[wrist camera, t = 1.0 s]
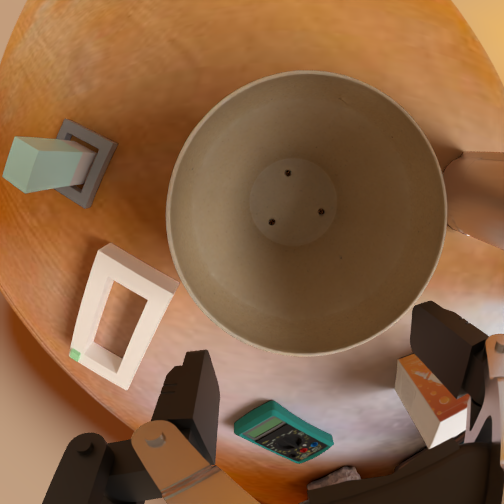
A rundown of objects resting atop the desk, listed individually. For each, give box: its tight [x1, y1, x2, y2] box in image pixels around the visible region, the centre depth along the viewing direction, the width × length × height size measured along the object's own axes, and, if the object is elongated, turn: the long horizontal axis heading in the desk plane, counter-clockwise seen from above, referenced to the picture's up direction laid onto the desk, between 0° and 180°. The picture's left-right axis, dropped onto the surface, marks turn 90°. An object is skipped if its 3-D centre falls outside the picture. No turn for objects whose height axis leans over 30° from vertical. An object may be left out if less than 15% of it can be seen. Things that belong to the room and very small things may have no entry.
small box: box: [395, 354, 470, 449], centre depth 28 cm, size 8×6×13 cm
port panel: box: [69, 242, 180, 390], centre depth 29 cm, size 16×9×4 cm, turn 149°
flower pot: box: [166, 70, 447, 357], centre depth 22 cm, size 18×18×12 cm
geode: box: [307, 466, 361, 490], centre depth 40 cm, size 20×12×10 cm, turn 23°
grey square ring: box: [53, 119, 118, 209], centre depth 25 cm, size 7×7×1 cm
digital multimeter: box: [234, 401, 334, 464], centre depth 36 cm, size 8×16×3 cm, turn 45°
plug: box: [2, 136, 97, 193], centre depth 21 cm, size 4×4×10 cm
